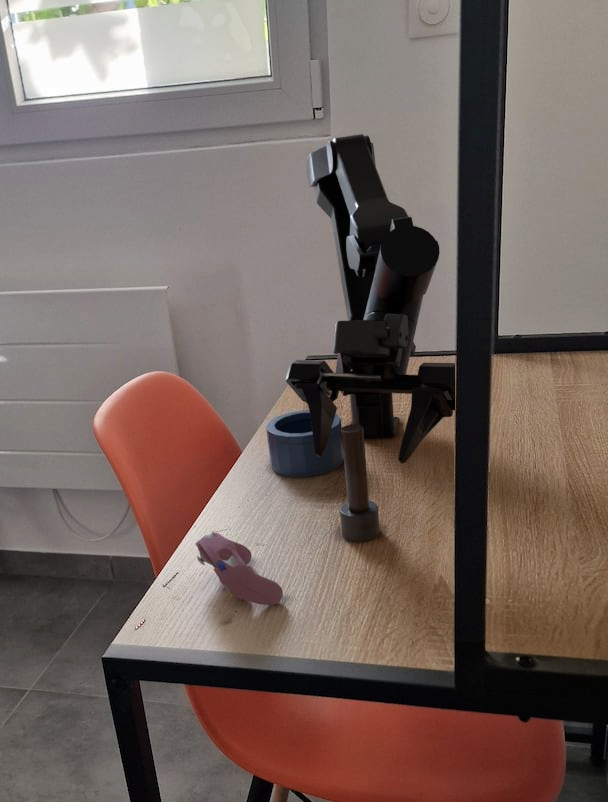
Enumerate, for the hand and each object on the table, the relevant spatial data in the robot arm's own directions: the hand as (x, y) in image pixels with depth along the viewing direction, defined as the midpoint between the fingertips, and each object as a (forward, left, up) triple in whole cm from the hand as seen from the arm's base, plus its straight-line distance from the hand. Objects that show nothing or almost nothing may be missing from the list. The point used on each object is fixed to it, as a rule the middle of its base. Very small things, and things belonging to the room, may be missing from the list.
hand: (358, 458), depth 85 cm
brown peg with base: (+1, 0, -8) cm, 8 cm away
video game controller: (+13, -10, -8) cm, 18 cm away
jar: (-18, -10, -8) cm, 23 cm away
